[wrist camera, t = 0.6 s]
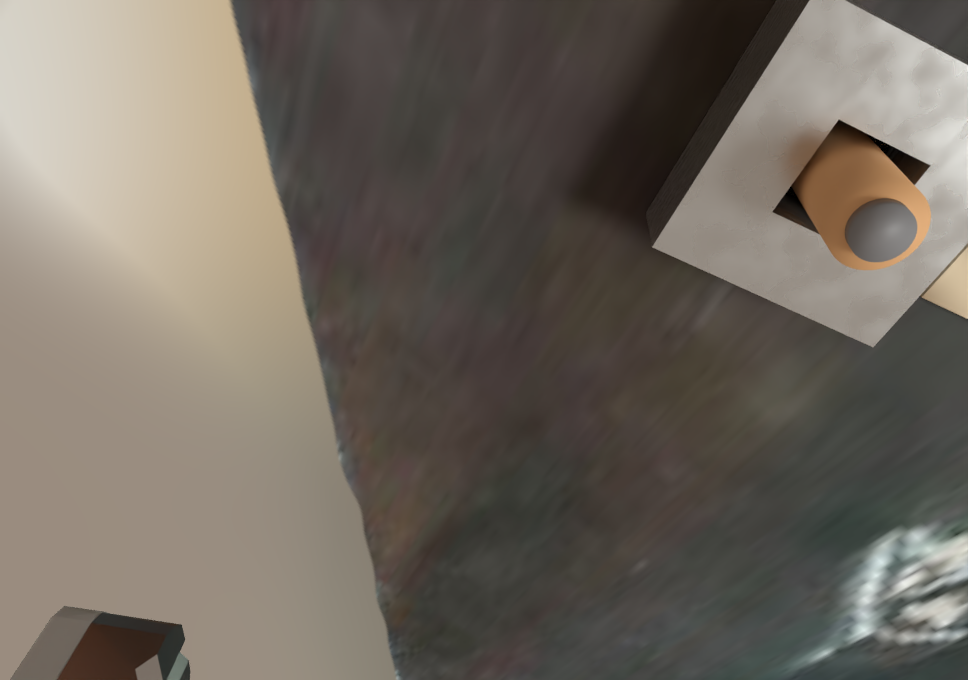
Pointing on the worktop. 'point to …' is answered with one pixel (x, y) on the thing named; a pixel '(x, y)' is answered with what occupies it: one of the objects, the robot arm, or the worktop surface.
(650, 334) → the worktop surface
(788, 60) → the housing
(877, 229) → the tan grey-topped cylinder
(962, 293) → the coaster
